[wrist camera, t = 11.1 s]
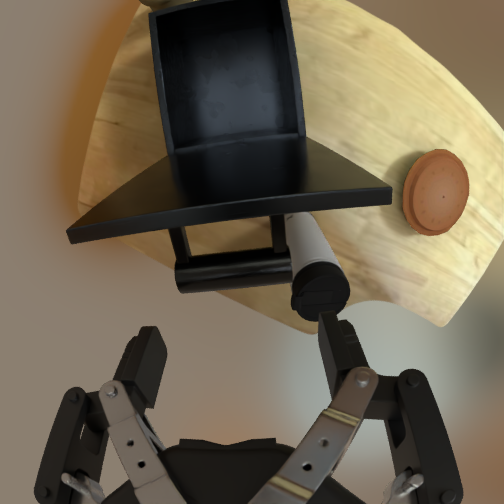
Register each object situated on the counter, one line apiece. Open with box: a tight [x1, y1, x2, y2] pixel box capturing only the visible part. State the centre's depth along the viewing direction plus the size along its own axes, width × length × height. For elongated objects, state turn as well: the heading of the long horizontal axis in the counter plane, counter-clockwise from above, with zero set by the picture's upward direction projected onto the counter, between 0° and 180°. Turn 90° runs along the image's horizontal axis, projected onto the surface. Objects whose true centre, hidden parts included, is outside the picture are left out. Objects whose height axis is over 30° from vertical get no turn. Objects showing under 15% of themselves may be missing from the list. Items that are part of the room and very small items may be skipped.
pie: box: [403, 149, 469, 236], centre depth 40 cm, size 15×16×5 cm
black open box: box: [148, 0, 306, 155], centre depth 29 cm, size 18×15×13 cm
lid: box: [66, 137, 393, 293], centre depth 20 cm, size 19×15×6 cm
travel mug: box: [284, 212, 350, 322], centre depth 37 cm, size 6×7×20 cm
